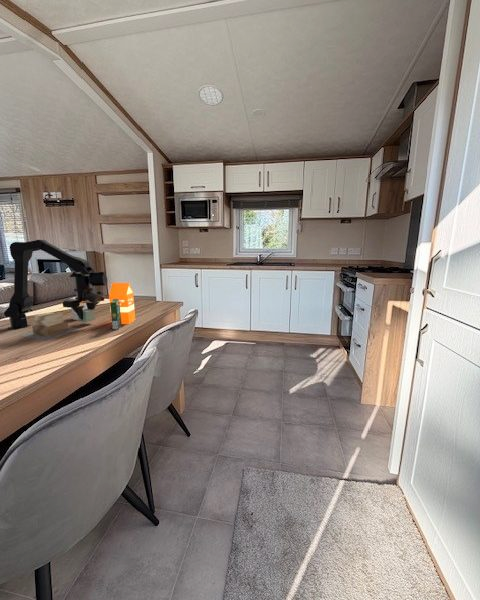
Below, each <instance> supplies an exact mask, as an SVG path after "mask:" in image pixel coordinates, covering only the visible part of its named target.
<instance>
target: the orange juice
mask: <svg viewBox="0 0 480 600" xmlns="http://www.w3.org/2000/svg"><path fill="white" fill-rule="evenodd" d="M108 297H109V298H108V299H109V303H110V302H111V301H112V300H113V299H119V301H120V313H121V323H122V325H129V324H132V323H133V322H134V320H135V321H136V314H135V299H134V291H133V289H132V287H131V285H130V283H129V282H112V283H111V286H110V290H109V294H108ZM109 308H110V309H109V311H110V313H111V307H110V306H109ZM110 319H111V318H110ZM111 322H112V319H111ZM131 322H132V323H131Z"/></svg>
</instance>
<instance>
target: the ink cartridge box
mask: <svg viewBox="0 0 480 600" xmlns="http://www.w3.org/2000/svg"><path fill="white" fill-rule="evenodd" d="M75 294H76V295H77V292H76V293H75ZM75 297H76V296H74V297H69V300H76V299H75ZM82 306H84V307H83V310H84V309H87V305H86V303H82ZM70 310H71V318H72V320H74V321H78V315H77V313H76V312H75V311H74V310H73V309H72V308H70Z"/></svg>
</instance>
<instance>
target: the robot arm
mask: <svg viewBox="0 0 480 600" xmlns="http://www.w3.org/2000/svg"><path fill="white" fill-rule="evenodd" d="M40 250H41V251H43V252H45V253H46V254H48V255H51V256H52V257H53V258H56V259H57V260H60V261H61V262H63V263H64V264H66V266H67V267H68V268H70V269H71V270H72V271H73V272H72V273H71V274H70V275H69V278H74V280H75V281H74V282H75V288H74V292H76V293H77V294H76V296H74V297H75V299H76V300H70V299H67V300H63V302H62V308H69V309H71V308H72V309H73V310H74V311H75V312H76V313H77V315H78V316H79V318H80V319H81V320H83V307H84V306H82V303H86V305H87V309H93V310H94V311H95V309H96V307H97V305H98V304H100V302H104V301H105V296H104V291H103V290H99V291H94V289H93V288H92V287H106V286H107V285H108V277H107V275H106V273H105V271H95V270H94V269H93V268H92V267H91V266H90V263H89V261H88V260H87V259H84V258H81V257H78V256H75V255H72V254H69V253H68V252H66V251H65V250H62V249H60V248H59V247H57V246H56V245H54V244H51V243H50V242H48V241H47V240H45V239H35V240H31V241H25V242H24V241H14V242H12V243H10V245H9V251H10V252H9V253H10V256H11V258H12V260H13V262H14V275H13V278H14V281H13V282H14V283H13V294H12V295H11V297H10V300H9V304H8V307H7V308H6V309H5V311H3V315H4V317H5V318H9V323H10V326H9V327H7V328H6V329H8V330H20V329H24V328H27V327H32V325H31V324H28V320H27V313H29V311H30V309H31V308H32V306H33V305H34V302H33V300H34V297H33V296H30V294H29V292H28V290H29V289H28V288H29V285H28V283H29V281H28V279H29V262H30V260H31V259H32V257H33V252H36V251H40ZM91 286H92V287H91Z"/></svg>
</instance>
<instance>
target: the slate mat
mask: <svg viewBox="0 0 480 600" xmlns="http://www.w3.org/2000/svg"><path fill="white" fill-rule="evenodd" d="M80 330H81V328H75V327H68V331H65V332H62V333H59V334H56V335H53V336H49V337H48V336H40V335H33V331H32V332H28V333H26V334H21V335H19V337H21V338H29V339H34V340H42V341H49V340H52V339H55V338H58V337H61V336H64V335H67V334H71V333H74V332H76V331H80Z"/></svg>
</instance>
